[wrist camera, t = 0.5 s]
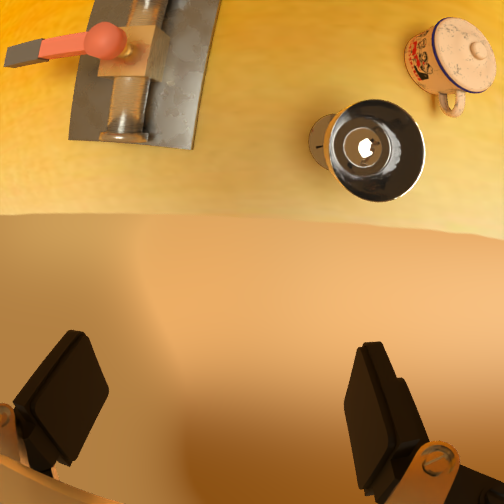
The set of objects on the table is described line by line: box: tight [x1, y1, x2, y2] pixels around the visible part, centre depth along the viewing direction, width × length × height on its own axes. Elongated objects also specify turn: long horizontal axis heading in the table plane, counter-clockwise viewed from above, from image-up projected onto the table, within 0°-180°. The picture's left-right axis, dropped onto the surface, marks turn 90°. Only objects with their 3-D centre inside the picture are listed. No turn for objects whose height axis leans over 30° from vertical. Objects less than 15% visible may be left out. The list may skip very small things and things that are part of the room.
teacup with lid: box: [405, 17, 496, 117], centre depth 24 cm, size 12×9×12 cm
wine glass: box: [309, 99, 425, 202], centre depth 28 cm, size 8×8×15 cm
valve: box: [68, 0, 221, 150], centre depth 27 cm, size 24×18×10 cm
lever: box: [4, 22, 127, 68], centre depth 21 cm, size 16×4×2 cm, turn 80°
